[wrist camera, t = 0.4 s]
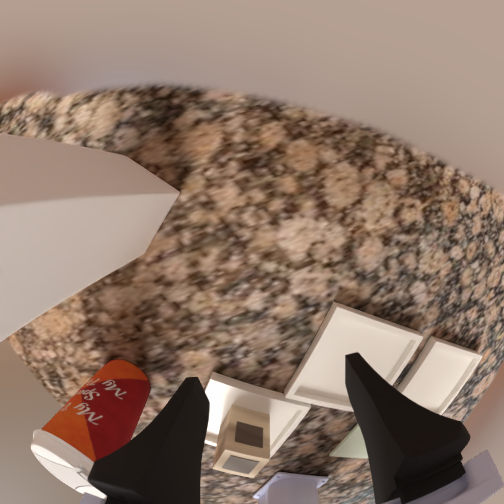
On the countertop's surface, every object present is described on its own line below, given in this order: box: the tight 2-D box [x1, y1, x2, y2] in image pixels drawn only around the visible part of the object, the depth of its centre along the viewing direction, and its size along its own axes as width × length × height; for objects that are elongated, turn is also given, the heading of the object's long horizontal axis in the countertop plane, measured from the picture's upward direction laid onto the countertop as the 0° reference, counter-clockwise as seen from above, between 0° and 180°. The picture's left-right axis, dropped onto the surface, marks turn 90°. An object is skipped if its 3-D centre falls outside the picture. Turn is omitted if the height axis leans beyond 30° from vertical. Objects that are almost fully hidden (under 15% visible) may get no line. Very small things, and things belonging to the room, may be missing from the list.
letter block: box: [212, 404, 270, 478], centre depth 21 cm, size 4×4×6 cm
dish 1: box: [205, 371, 311, 458], centre depth 24 cm, size 10×10×1 cm
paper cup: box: [31, 359, 150, 498], centre depth 18 cm, size 8×8×14 cm
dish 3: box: [396, 336, 483, 415], centre depth 23 cm, size 10×10×1 cm
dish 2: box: [284, 301, 423, 412], centre depth 22 cm, size 10×10×1 cm
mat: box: [329, 423, 368, 458], centre depth 25 cm, size 9×9×1 cm
